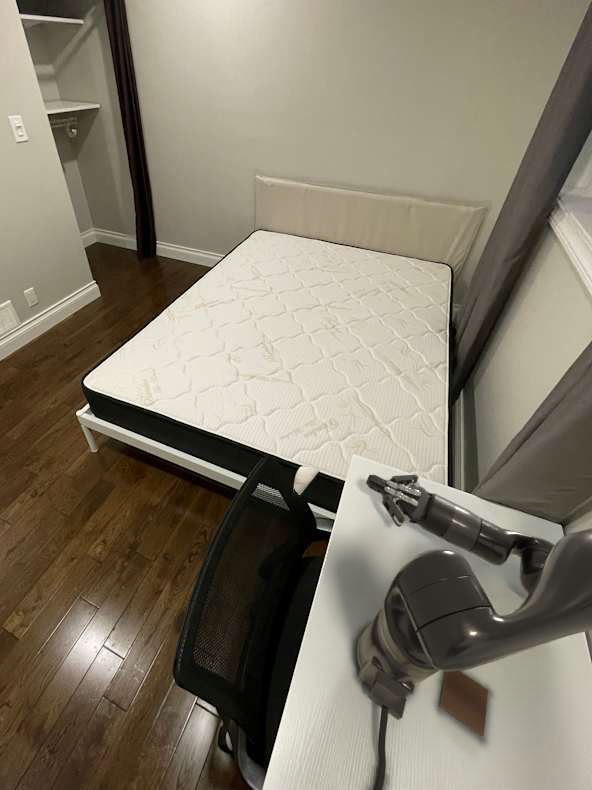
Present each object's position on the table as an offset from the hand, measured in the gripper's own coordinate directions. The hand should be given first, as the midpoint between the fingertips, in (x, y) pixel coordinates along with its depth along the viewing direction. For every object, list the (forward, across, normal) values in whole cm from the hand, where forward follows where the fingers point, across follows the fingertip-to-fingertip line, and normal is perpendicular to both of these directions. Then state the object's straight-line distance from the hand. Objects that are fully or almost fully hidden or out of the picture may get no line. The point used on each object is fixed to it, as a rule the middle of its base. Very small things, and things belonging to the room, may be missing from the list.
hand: (367, 479), depth 81 cm
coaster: (-26, +25, +6) cm, 36 cm away
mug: (+5, -1, +11) cm, 12 cm away
